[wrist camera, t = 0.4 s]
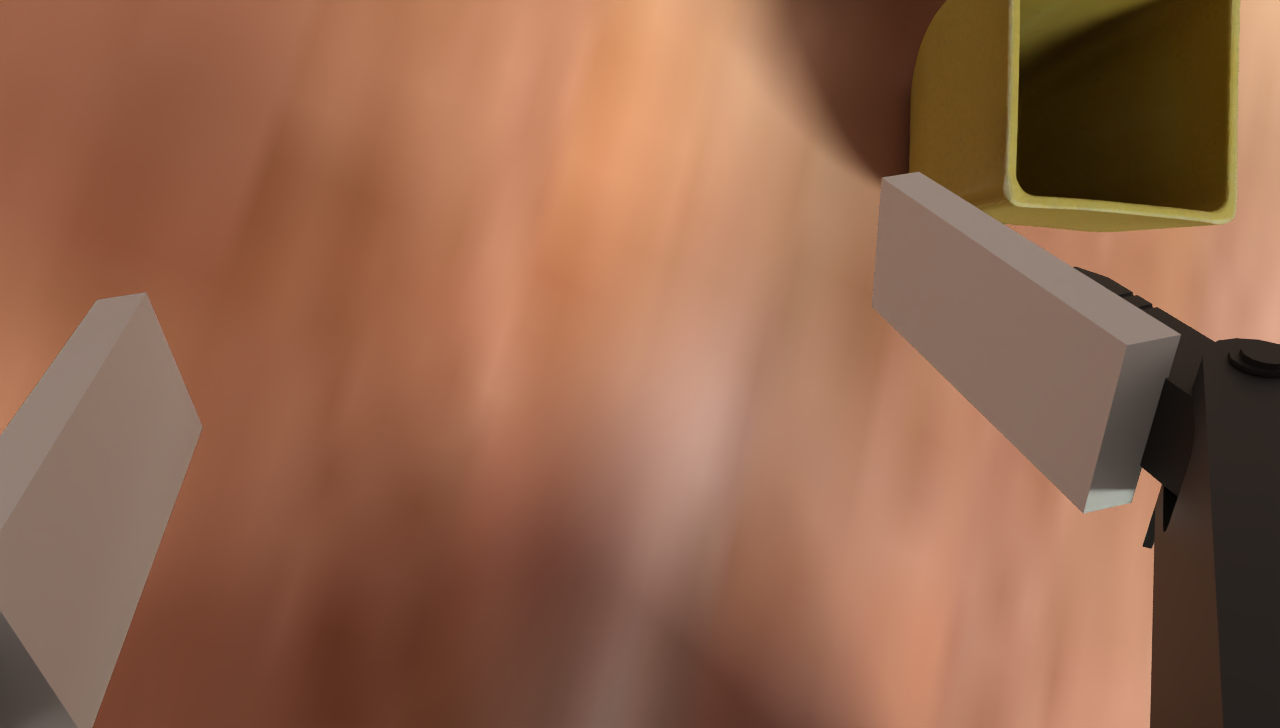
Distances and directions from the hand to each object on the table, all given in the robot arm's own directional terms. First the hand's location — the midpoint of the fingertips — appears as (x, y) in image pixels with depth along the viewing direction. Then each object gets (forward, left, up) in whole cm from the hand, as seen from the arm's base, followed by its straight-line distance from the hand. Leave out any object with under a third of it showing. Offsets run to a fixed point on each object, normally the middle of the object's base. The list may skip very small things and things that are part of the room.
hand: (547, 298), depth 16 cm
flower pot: (+5, -20, -17) cm, 27 cm away
